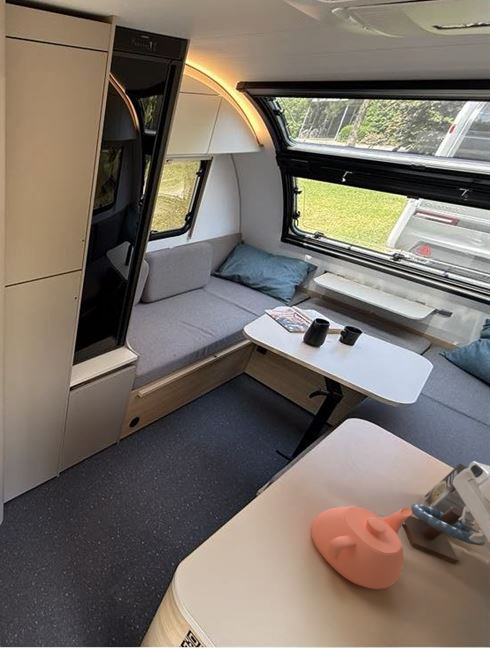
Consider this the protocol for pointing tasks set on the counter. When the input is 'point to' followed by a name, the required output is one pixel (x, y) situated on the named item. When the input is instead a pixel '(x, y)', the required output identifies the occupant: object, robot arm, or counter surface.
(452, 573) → the counter surface
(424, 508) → the ring
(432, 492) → the coffee box
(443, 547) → the post
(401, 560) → the teapot
